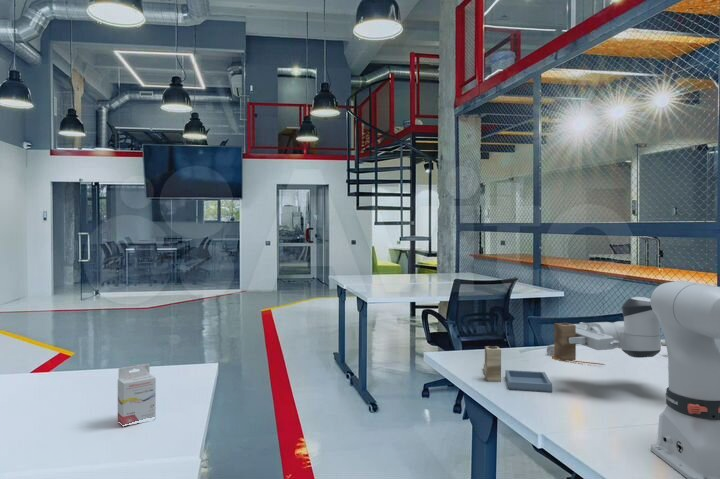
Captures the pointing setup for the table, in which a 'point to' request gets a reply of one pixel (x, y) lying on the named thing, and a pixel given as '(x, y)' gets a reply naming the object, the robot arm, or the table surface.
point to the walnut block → (564, 341)
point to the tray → (528, 381)
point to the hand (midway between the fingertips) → (562, 338)
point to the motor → (551, 353)
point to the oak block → (492, 364)
